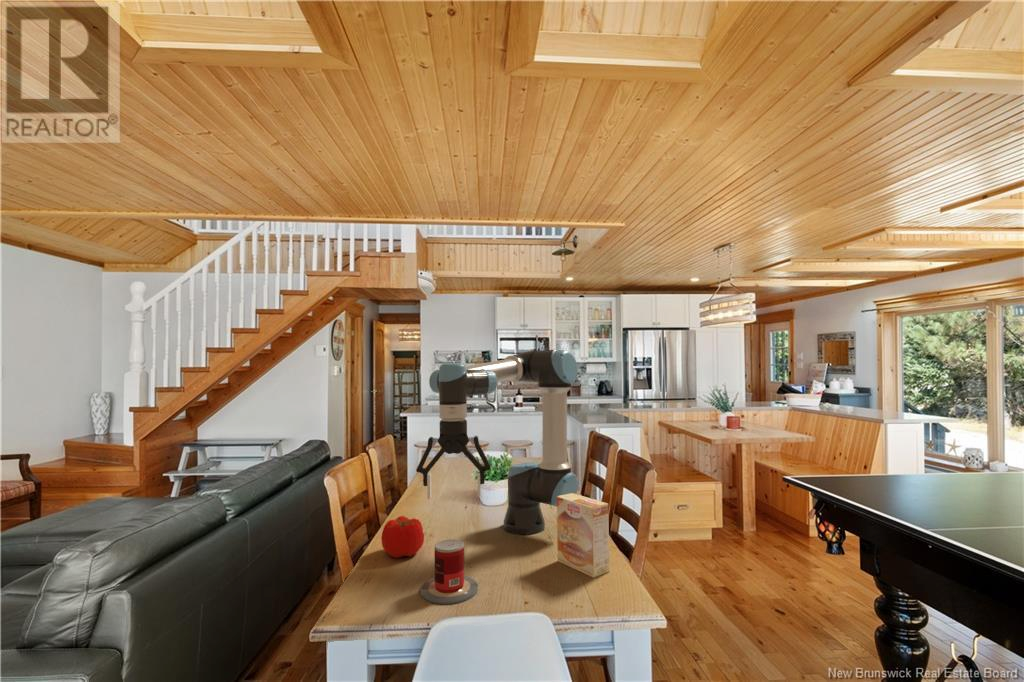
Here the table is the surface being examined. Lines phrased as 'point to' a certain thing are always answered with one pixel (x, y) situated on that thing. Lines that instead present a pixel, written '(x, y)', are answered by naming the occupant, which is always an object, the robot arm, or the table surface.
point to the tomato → (402, 537)
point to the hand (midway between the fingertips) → (454, 497)
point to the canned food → (449, 565)
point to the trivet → (449, 598)
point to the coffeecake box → (583, 534)
